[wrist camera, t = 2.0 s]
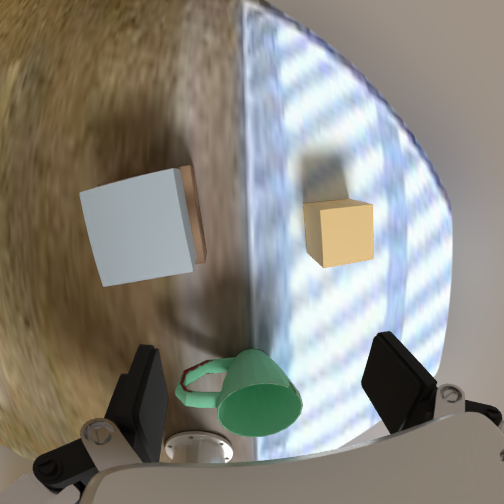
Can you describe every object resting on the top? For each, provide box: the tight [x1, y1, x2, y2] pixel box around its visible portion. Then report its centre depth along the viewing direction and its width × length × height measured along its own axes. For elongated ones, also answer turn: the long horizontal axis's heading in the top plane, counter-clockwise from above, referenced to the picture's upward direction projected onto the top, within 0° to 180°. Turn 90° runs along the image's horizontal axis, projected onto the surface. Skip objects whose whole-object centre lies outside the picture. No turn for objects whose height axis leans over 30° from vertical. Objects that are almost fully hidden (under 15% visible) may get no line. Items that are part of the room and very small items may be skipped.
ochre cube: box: [303, 199, 374, 268], centre depth 31 cm, size 6×6×6 cm
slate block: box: [79, 168, 197, 287], centre depth 25 cm, size 9×9×4 cm
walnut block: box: [98, 165, 207, 264], centre depth 30 cm, size 10×10×4 cm
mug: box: [175, 349, 303, 437], centre depth 33 cm, size 15×10×10 cm
